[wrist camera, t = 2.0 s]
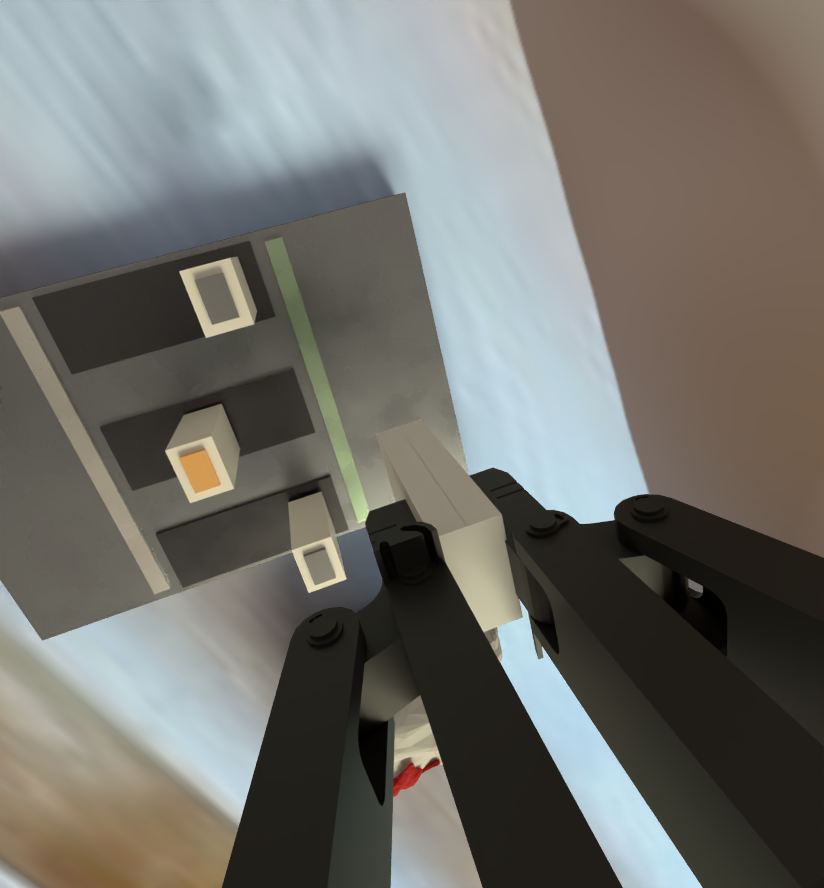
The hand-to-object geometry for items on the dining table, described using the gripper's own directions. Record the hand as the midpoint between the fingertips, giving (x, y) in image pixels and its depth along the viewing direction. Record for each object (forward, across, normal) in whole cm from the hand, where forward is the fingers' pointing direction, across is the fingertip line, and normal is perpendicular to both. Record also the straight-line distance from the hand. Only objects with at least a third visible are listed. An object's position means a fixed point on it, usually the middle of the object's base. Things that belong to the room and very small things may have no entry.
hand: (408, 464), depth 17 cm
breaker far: (+10, -4, -6) cm, 13 cm away
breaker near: (+10, -4, +6) cm, 13 cm away
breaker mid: (+10, -7, 0) cm, 13 cm away
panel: (+13, -8, 0) cm, 15 cm away
